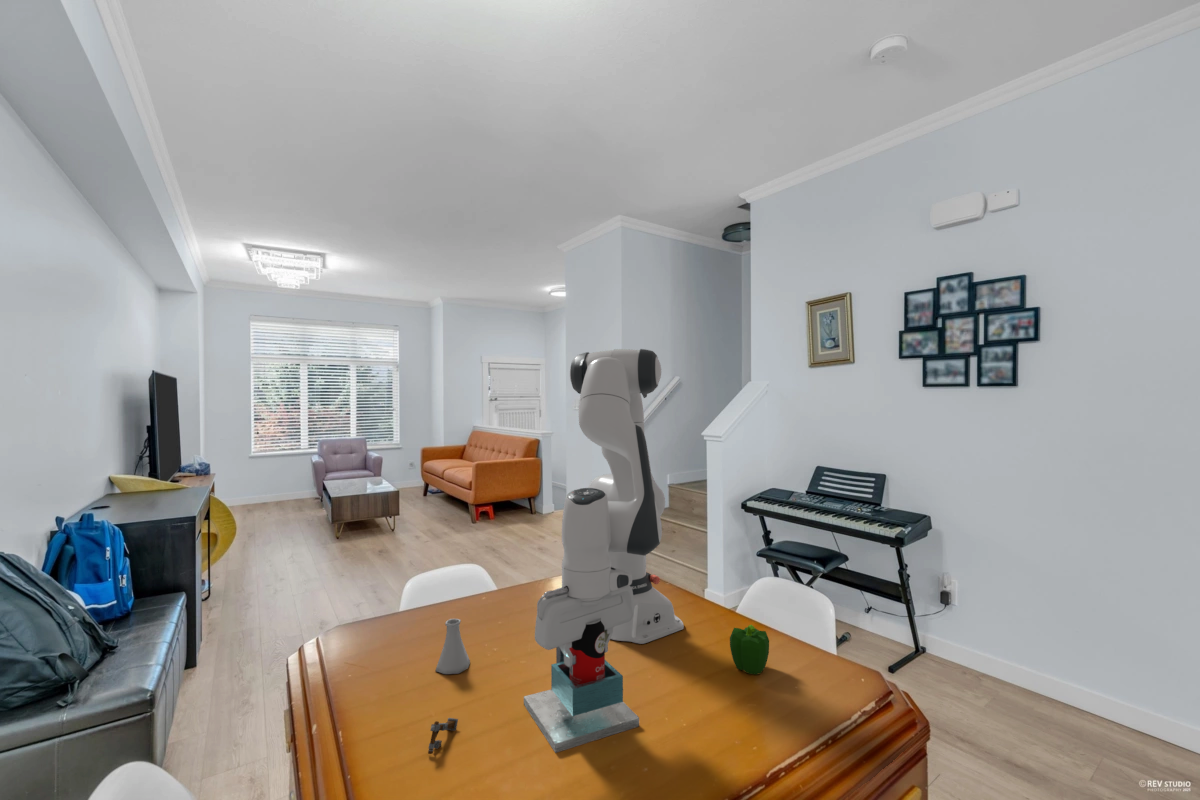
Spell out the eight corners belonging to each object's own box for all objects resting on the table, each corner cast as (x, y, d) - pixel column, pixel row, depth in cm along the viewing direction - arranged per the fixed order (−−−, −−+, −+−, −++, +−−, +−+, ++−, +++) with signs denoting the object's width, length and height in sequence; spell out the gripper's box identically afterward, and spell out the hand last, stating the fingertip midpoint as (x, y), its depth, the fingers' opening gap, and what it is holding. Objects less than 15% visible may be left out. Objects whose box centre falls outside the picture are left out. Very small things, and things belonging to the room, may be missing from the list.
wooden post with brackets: (421, 754, 85) (428, 721, 87) (443, 746, 92) (448, 716, 94) (432, 755, 85) (438, 723, 87) (453, 747, 92) (458, 717, 94)
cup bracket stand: (598, 684, 108) (598, 588, 109) (639, 726, 94) (638, 615, 94) (523, 704, 101) (523, 601, 101) (555, 752, 87) (555, 632, 87)
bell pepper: (731, 657, 120) (731, 613, 120) (769, 663, 117) (769, 617, 117) (727, 675, 112) (727, 627, 112) (768, 681, 109) (768, 632, 110)
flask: (460, 677, 111) (460, 629, 112) (429, 673, 113) (429, 626, 113) (475, 661, 118) (475, 616, 119) (446, 658, 120) (446, 613, 120)
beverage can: (574, 696, 91) (574, 626, 91) (566, 678, 97) (565, 613, 97) (609, 690, 93) (609, 622, 93) (598, 673, 99) (598, 608, 99)
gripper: (548, 599, 86) (548, 684, 86) (638, 573, 99) (639, 647, 99) (527, 589, 91) (527, 670, 91) (616, 566, 104) (616, 636, 104)
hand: (586, 658), depth 95 cm, fingers closed on beverage can, 6 cm apart
